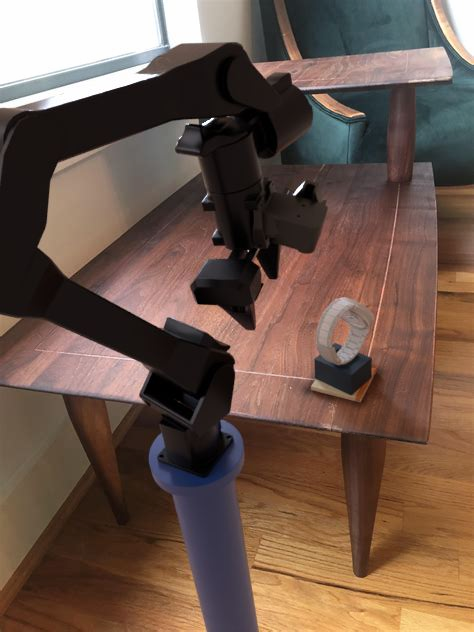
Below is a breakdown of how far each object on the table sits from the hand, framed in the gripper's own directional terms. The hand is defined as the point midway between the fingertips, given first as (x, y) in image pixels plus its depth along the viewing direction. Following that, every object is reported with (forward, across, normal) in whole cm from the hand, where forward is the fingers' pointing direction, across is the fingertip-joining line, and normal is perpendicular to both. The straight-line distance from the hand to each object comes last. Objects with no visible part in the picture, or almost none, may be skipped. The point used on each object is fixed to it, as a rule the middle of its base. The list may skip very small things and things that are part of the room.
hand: (262, 302), depth 63 cm
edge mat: (+14, +1, -8) cm, 16 cm away
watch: (+13, +1, -8) cm, 15 cm away
